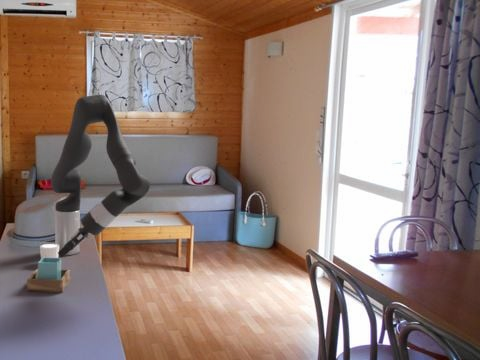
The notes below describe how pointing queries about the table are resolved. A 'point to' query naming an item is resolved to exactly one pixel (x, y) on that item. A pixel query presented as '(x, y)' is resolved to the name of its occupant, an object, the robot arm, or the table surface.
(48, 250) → the white cylinder
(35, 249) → the table surface
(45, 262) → the teal crate
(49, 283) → the walnut crate
